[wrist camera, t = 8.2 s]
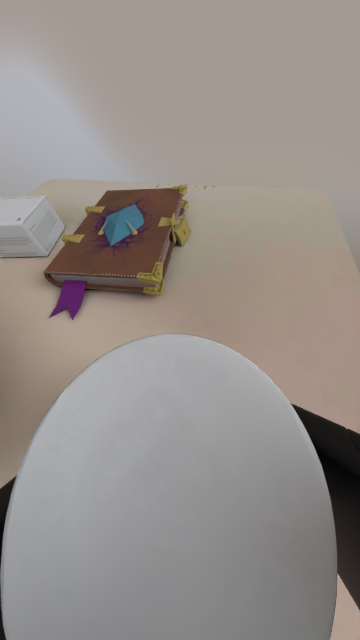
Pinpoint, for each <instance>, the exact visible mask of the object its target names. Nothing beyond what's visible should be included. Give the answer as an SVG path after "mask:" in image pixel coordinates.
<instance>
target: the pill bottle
mask: <svg viewBox="0 0 360 640" xmlns="http://www.w3.org/2000/svg"><path fill="white" fill-rule="evenodd" d="M0 586H1V610H2V620H3V627H4V632H5V637H6V640H330V636H331V632H332V625H333V619H334V613H335V606H336V596H337V544H336V533H335V524H334V518H333V511H332V504H331V499H330V495H329V491H328V487H327V483H326V480H325V476H324V472H323V469H322V465H321V463H320V460H319V458H318V455H317V453H316V450H315V448H314V446H313V443H312V441H311V439H310V437H309V435H308V433H307V431H306V429H305V427H304V425H303V423H302V422H301V420H300V418H299V416H298V415H297V413H296V411H295V410H294V408H293V407H292V405H291V404H290V402H289V401H288V399H287V398H286V397H285V395H284V394H283V393H282V392H281V390H280V389H279V388H278V387H277V386H276V384H275V383H274V382H273V381H272V380H271V379H270V378H269V377H268V376H267V375H266V374H265V373H264V372H263V371H262V370H261V369H260V368H258V367H257V366H256V365H255V364H254V363H252V362H251V361H250V360H248V359H247V358H246V357H244V356H243V355H241V354H239V353H238V352H236V351H234V350H232V349H231V348H229V347H227V346H225V345H222V344H220V343H217V342H214V341H212V340H209V339H205V338H202V337H197V336H192V335H186V334H161V335H154V336H149V337H145V338H140V339H137V340H133V341H131V342H128V343H126V344H123V345H121V346H119V347H117V348H115V349H112V350H111V351H109V352H108V353H106V354H104V355H103V356H101V357H99V358H98V359H96V360H95V361H94V362H93V363H91V364H90V365H89V366H88V367H86V368H85V369H84V370H83V371H82V372H81V373H80V374H79V375H78V376H77V377H76V378H75V379H73V380H72V381H71V382H70V383H69V385H68V386H67V387H66V388H65V389H64V390H63V392H62V393H61V394H60V395H59V396H58V397H57V399H56V400H55V401H54V403H53V404H52V406H51V407H50V408H49V410H48V411H47V413H46V414H45V416H44V418H43V419H42V421H41V423H40V424H39V426H38V428H37V430H36V431H35V433H34V435H33V437H32V439H31V441H30V444H29V446H28V448H27V450H26V452H25V455H24V458H23V460H22V463H21V465H20V468H19V471H18V474H17V476H16V480H15V483H14V486H13V490H12V493H11V497H10V502H9V506H8V510H7V515H6V520H5V526H4V533H3V543H2V556H1V571H0Z"/></svg>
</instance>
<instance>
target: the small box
mask: <svg viewBox="0 0 360 640" xmlns="http://www.w3.org/2000/svg"><path fill="white" fill-rule="evenodd" d="M64 229H65V226H64V224H63V223H62V221H61V219H60V218H59V216H58V215H57V213H56V211H55V210H54V208H53V206H52V205H51V203H50V202H49V200H48V198H47V197H46V195H38V196H17V197H0V257H33V256H48V254H49V253H50V251H51V250H52V248H53V247H54V245H55V243H56V241H57V240H58V238H59V237H60V235H61V233H62V232H63V230H64Z"/></svg>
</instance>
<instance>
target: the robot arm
mask: <svg viewBox="0 0 360 640" xmlns="http://www.w3.org/2000/svg"><path fill="white" fill-rule="evenodd" d="M290 404H291V403H290ZM291 405H292V407H293V408H294V410H295V411H296V413H297V415H298V416H299V418H300V420H301V422H302V423H303V425H304V427H305V429H306V431H307V433H308V435H309V437H310V439H311V441H312V443H313V446H314V448H315V450H316V453H317V455H318V458H319V460H320V463H321V465H322V469H323V472H324V476H325V480H326V483H327V487H328V491H329V495H330V499H331V504H332V511H333V518H334V524H335V533H336V544H337V573H338V574H339V576H340V578H341V579H342V581H343V583H344V585H345V586H346V588H347V590H348V591H349V593H350V595H351V596H352V598H353V600H354V601H355V603H356V605H357V606H358V608H359V610H360V434H359V433H357V432H354V431H352V430H350V429H346V428H345V427H343V426H341V425H338V424H336V423H334V422H332V421H330V420H327V419H325V418H323V417H321V416H318V415H316V414H314V413H312V412H309V411H307V410H305V409H303V408H300V407H298V406H296V405H294V404H291ZM15 480H16V477H14V478H13V479H12V480H11V481H9V482H8V483H7V484H6V485H5V486H3V487H2V488H1V489H0V571H1V556H2V543H3V533H4V526H5V520H6V515H7V510H8V506H9V502H10V497H11V493H12V490H13V486H14V483H15ZM0 640H6V637H5V632H4V627H3V620H2V610H1V586H0Z"/></svg>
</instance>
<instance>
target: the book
mask: <svg viewBox="0 0 360 640" xmlns="http://www.w3.org/2000/svg"><path fill="white" fill-rule="evenodd" d="M186 193H187V186H183V185H180V186H174V187H172V188H164V189H139V190H114V191H106V193H105V194H104V195H103V197H102V198H101V199H100V200H99V202H98V203H97V204H96V206H95V207H86V208H85V210H86V212H87V214H88V216H87V217H86V218H85V220H84V221H83V222H82V224H81V225H80V226H79V228H78V229H77V230H76V231H75V233H74V234H73V235H63V236H62V238H61V239H62V240H63V242H64V243H65V246H64V247H63V248H62V249H61V251H60V252H59V253H58V255H57V256H56V257H55V258H54V260H53V261H52V262H51V264H50V265H49V266H48V268H47V269H46V270H45V271H44V275H45V278H46V279H47V280H48V281H49V282H51V283H52V284H54V285H56V286H58V287H62V290H61V295H60V298H59V301H58V303H57V306H56V307H55V309H54V310H53V312H52V314H51V315H50V317H51V316H53V315H55V314H57V313H59V312H61V311H62V310H64V309H66V308H68V310H69V312H70V315H71V318H72V320H73V318H74V317H75V315H76V313H77V311H78V310H79V308H80V305H81V302H82V300H83V296H84V291H85V288H86V289H100V290H115V291H130V292H144V293H146V294H149V295H153V296H160V295H162V294H163V292H164V277H165V273H166V270H167V267H168V263H169V260H170V256H171V253H172V250H173V246H174V244H175V243H176V240H177V239H178V242H179V245H180V246H183V245H184V243H185V241H186V240H187V238H188V236H189V234H190V233H191V230H190V229H189V227H188V225H187V221H186V217H185V215H183V212H184V211H185V209H186V208H187V207H188V201H186V200H181V199H182V196H184V195H185V194H186ZM50 317H49V318H50Z"/></svg>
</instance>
